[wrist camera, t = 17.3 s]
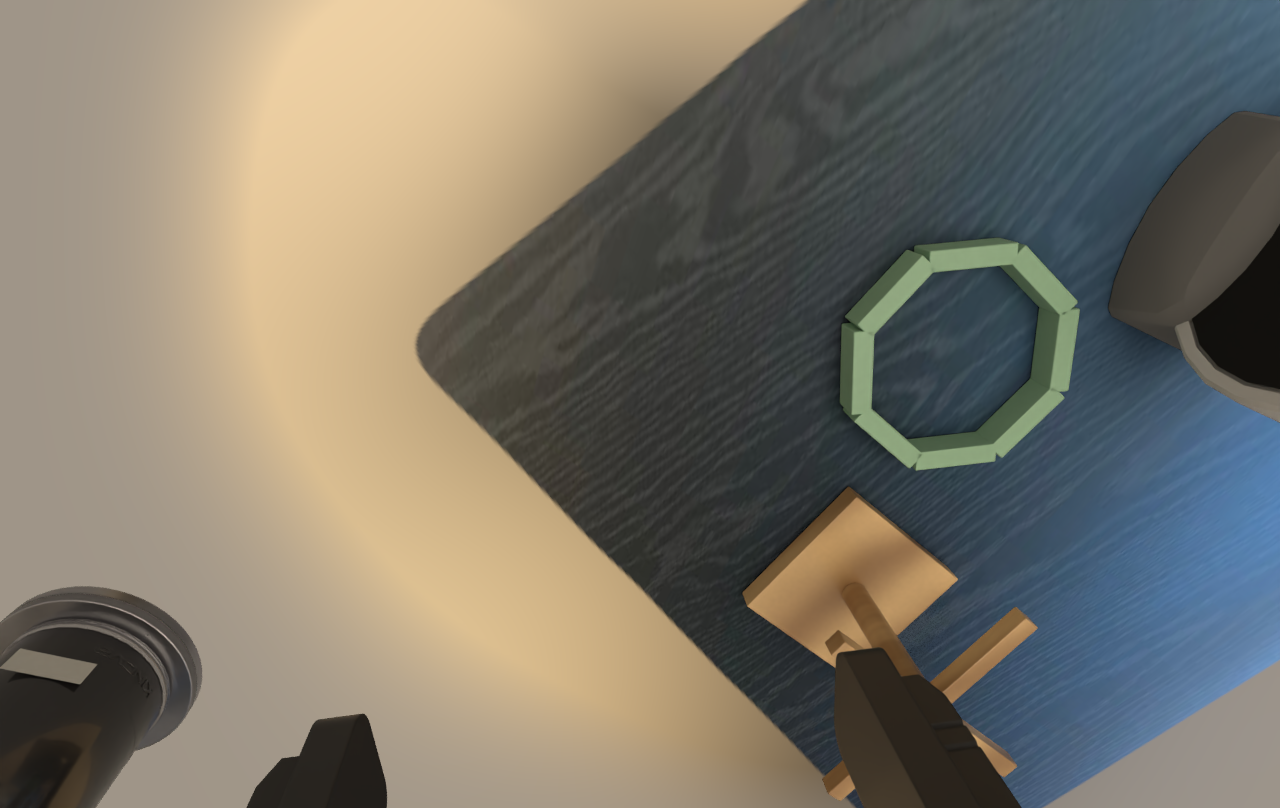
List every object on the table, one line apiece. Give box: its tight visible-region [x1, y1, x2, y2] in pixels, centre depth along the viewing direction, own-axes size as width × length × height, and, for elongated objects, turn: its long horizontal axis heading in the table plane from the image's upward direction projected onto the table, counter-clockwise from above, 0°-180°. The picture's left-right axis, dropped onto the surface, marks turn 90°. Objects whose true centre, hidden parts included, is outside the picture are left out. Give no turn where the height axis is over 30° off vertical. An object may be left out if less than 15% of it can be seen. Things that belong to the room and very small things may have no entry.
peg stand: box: [742, 487, 1037, 801], centre depth 43 cm, size 14×14×13 cm
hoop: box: [840, 238, 1080, 470], centre depth 43 cm, size 13×13×2 cm
